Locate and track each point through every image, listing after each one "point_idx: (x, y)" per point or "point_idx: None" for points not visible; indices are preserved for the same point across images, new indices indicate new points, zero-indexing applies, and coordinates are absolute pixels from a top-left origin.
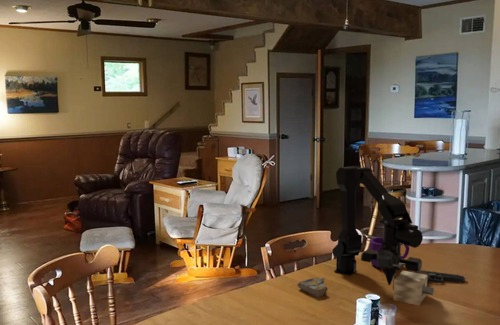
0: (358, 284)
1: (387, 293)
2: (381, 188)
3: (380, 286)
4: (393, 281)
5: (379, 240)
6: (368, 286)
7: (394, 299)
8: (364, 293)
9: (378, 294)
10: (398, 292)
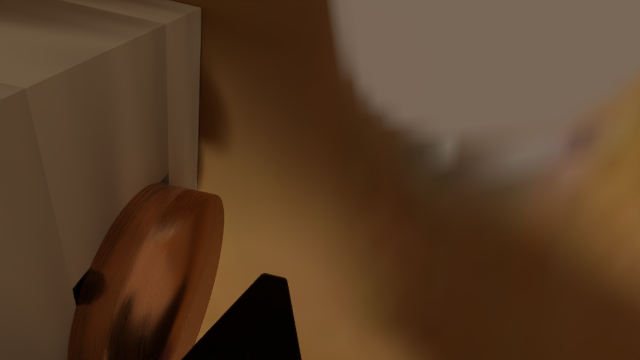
0: (627, 334)
1: (312, 198)
2: None
3: (394, 331)
4: (156, 293)
5: None
6: (520, 312)
7: (185, 8)
8: (621, 118)
9: (418, 140)
10: (43, 15)
